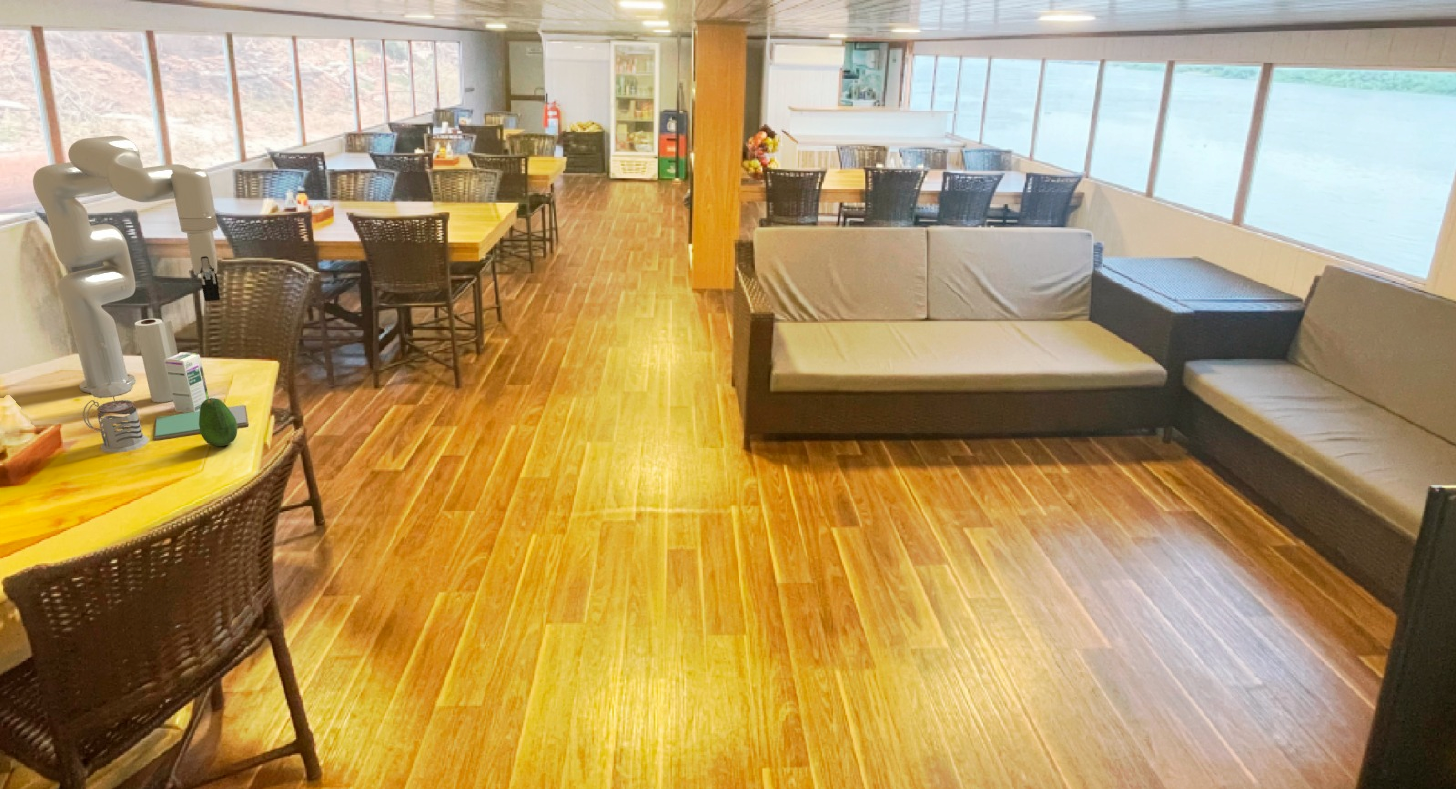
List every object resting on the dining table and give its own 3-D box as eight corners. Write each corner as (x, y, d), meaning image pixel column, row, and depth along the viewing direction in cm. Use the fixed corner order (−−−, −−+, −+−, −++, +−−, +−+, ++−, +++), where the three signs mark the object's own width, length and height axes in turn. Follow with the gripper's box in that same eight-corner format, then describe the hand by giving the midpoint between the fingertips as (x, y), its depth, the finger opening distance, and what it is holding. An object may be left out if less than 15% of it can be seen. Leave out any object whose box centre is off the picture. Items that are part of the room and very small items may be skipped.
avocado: (199, 443, 214) (190, 397, 210) (236, 435, 219) (227, 389, 214) (207, 455, 209) (197, 408, 204) (244, 447, 213) (236, 400, 209)
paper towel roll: (146, 401, 237) (128, 323, 229) (166, 393, 242) (149, 316, 234) (167, 405, 235) (150, 326, 226) (187, 397, 240) (171, 320, 232)
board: (156, 420, 226) (155, 416, 225) (245, 407, 235) (245, 404, 234) (154, 440, 215) (153, 436, 215) (248, 426, 224) (247, 422, 224)
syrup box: (194, 414, 230) (183, 360, 224) (174, 412, 231) (163, 358, 225) (211, 406, 235) (200, 353, 230) (191, 403, 236) (180, 351, 231)
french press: (157, 441, 215) (135, 341, 205) (105, 459, 205) (79, 355, 196) (135, 431, 219) (112, 333, 210) (83, 448, 210) (56, 347, 201)
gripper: (180, 217, 215) (193, 287, 221) (179, 232, 201) (194, 306, 207) (216, 215, 218) (228, 284, 225) (218, 229, 204) (231, 302, 211)
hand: (212, 295), depth 216 cm, fingers open, 9 cm apart
